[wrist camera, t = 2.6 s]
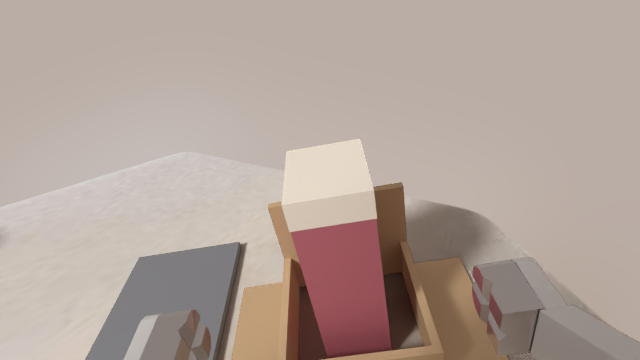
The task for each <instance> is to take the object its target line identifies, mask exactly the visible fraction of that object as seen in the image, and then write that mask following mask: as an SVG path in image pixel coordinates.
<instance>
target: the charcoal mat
mask: <svg viewBox="0 0 640 360" xmlns="http://www.w3.org/2000/svg"><path fill="white" fill-rule="evenodd" d="M240 251H241V245H240V243H239V242H236V243H230V244H224V245H217V246H211V247H204V248H198V249H191V250H185V251H178V252H172V253H165V254H159V255H152V256H146V257H139V259H138V261H137V263H136V265H135V267H134V268H133V270H132V272H131V274H130V276H129V278H128V280H127V282H126V284H125V285H124V287H123V289H122V291H121V293H120V295H119V297H118V299H117V301H116V302H115V304H114V306H113V308H112V310H111V312H110V314H109V316H108V318H107V319H106V321H105V323H104V325H103V327H102V329H101V331H100V333H99V335H98V336H97V338H96V340H95V342H94V344H93V346H92V348H91V350H90V352H89V353H88V355H87V357H86V359H85V360H124V357H125V355H126V353H127V351H128V348H129V346H130V344H131V342H132V339H133V337H134V335H135V333H136V330H137V328H138V326H139V323H140V321H141V320H142V319H143V318H144V317H145V316H150V315H157V314H164V313H172V312H180V311H187V310H197V312H198V313H199V315H200V316H201V317H200V321H199V322H200V323H202V324H204V325H206V326H207V328H208V329H209V332H210V336H211V350H210V355H209V358H208V359H207V360H217V357H218V353H219V348H220V344H221V339H222V334H223V330H224V325H225V320H226V316H227V311H228V306H229V302H230V297H231V292H232V288H233V283H234V278H235V274H236V269H237V265H238V260H239V255H240Z"/></svg>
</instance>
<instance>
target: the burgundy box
mask: <svg viewBox="0 0 640 360" xmlns="http://www.w3.org/2000/svg"><path fill="white" fill-rule="evenodd" d="M281 206H282V209H283V212H284V216H285V219H286V222H287V226H288V229H289V232H291V236H292V239H293V242H294V246H295V249H296V252H297V256H298V259H299V263H300V266H301V269H302V273H303V276H304V280H305V283H306V286H307V290H308V293H309V296H310V300H311V303H312V307H313V310H314V313H315V317H316V320H317V324H318V327H319V330H320V334H321V337H322V340H323V344H324V347H325V351H326V354H327V357H328V359H329V358H337V357H345V356H352V355H360V354H368V353H376V352H384V351H391V350H392V346H391V338H390V330H389V321H388V313H387V304H386V296H385V288H384V279H383V271H382V262H381V254H380V245H379V237H378V229H377V220H376V219H377V212H376V203H375V195H374V189H373V185H372V181H371V178H370V174H369V170H368V166H367V163H366V159H365V155H364V151H363V147H362V144H361V140H360V139H356V140H350V141H344V142H338V143H332V144H326V145H320V146H315V147H309V148H303V149H297V150H291V151H287V153H286V163H285V173H284V183H283V193H282V204H281Z"/></svg>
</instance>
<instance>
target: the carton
mask: <svg viewBox="0 0 640 360" xmlns="http://www.w3.org/2000/svg"><path fill="white" fill-rule="evenodd" d="M373 189H374V195H375V203H376V212H377V219H376V220H377V229H378V237H379V245H380V254H381V262H382V271H383V275H386V274H393V273H400V272H402V273H403V276H404V280H405V283H406V287H407V290H408V294H409V297H410V301H411V304H412V308H413V311H414V315H415V318H416V322H417V325H418V329H419V332H420V336H421V339H422V343H423V347H415V348H407V349H399V350H391V351H384V352H376V353H368V354H360V355H352V356H345V357H337V358H329V359H321V360H509V359H508V357H507V355H503V356H497V355H496V353H495V351H494V348H493V346H492V344H491V342H490V340H489V338H488V335H487V324H486V323H485V322H484V321H482V320H481V319H480V318H479V316H478V313H477V311H476V308H475V305H474V302H473V296H472V285H473V284H472V282H471V280H470V278H469V276H468V274H467V272H466V269H465V267H464V265H463V263H462V261H461V259H460V257H455V258H448V259H441V260H434V261H427V262H420V263H414V261H413V258H412V255H411V252H410V249H409V246H408V243H407V238H406V222H405V206H404V191H403V185H402V183H395V184H389V185H383V186H376V187H373ZM281 204H282V202H277V203H271V204H269V205H268V210H269V213H270V216H271V219H272V222H273V225H274V228H275V231H276V235H277V238H278V241H279V244H280V247H281V250H282V253H283V256H284V273H283V282H282V283H276V284H269V285H262V286H255V287H248V288H244V292H243V298H242V303H241V309H240V314H239V320H238V325H237V331H236V336H235V342H234V347H233V353H232V358H231V360H298V348H299V302H300V287H303V286H306V283H305V280H304V276H303V273H302V269H301V266H300V263H299V259H298V256H297V252H296V249H295V246H294V242H293V239H292V236H291V232H289V229H288V226H287V222H286V219H285V216H284V212H283V209H282V206H281Z"/></svg>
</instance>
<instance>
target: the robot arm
mask: <svg viewBox="0 0 640 360" xmlns="http://www.w3.org/2000/svg"><path fill="white" fill-rule="evenodd" d="M473 277H474V279H475V281H476V282H475V283H474V284H473V285H472V296H473V302H474V305H475V308H476V311H477V313H478V316H479V318H480V319H481V320H482V321H484V322H485V323H486V324H487V335H488V338H489V340H490V342H491V344H492V346H493V348H494V351H495V353H496V355H497V356H503V355H512V354H522V353H530V355H532V356H533V357H534V358H535V359H536V360H640V343H639V342H637V341H636V340H634V339H632V338H630V337H629V336H627V335H625V334H624V333H622V332H620V331H618V330H616V329H615V328H613V327H611V326H610V325H608V324H606V323H604V322H603V321H601V320H599V319H597V318H596V317H594V316H592V315H590V314H588V313H587V312H585V311H583V310H581V309H580V308H578V307H576V306H574V305H572V306H568V305H567V304H566V302H565V301H564V300H563V298H562V297H561V296H560V294H559V293H558V291H557V290H556V289H555V287H554V286H553V284H552V283H551V282H550V280H549V279H548V278H547V276H546V275H545V273H544V272H543V271H542V269H541V268H540V266H539V265H538V264H537V262H536V261H535V260H534V259H533V258H531V257H527V258H521V259H514V260H506V261H500V262H494V263H488V264H482V265H476V266H474V268H473ZM200 317H201V316H200V315H199V313H198V312H197V310H187V311H180V312H172V313H164V314H157V315H150V316H145V317H144V318H143V319H142V320H141V321H140V323H139V326H138V328H137V330H136V333H135V335H134V337H133V339H132V342H131V344H130V346H129V348H128V351H127V353H126V355H125V357H124V360H207V359H208V358H209V355H210V350H211V336H210V332H209V329H208V328H207V326H206V325H204V324H202V323H200V322H199V321H200Z"/></svg>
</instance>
